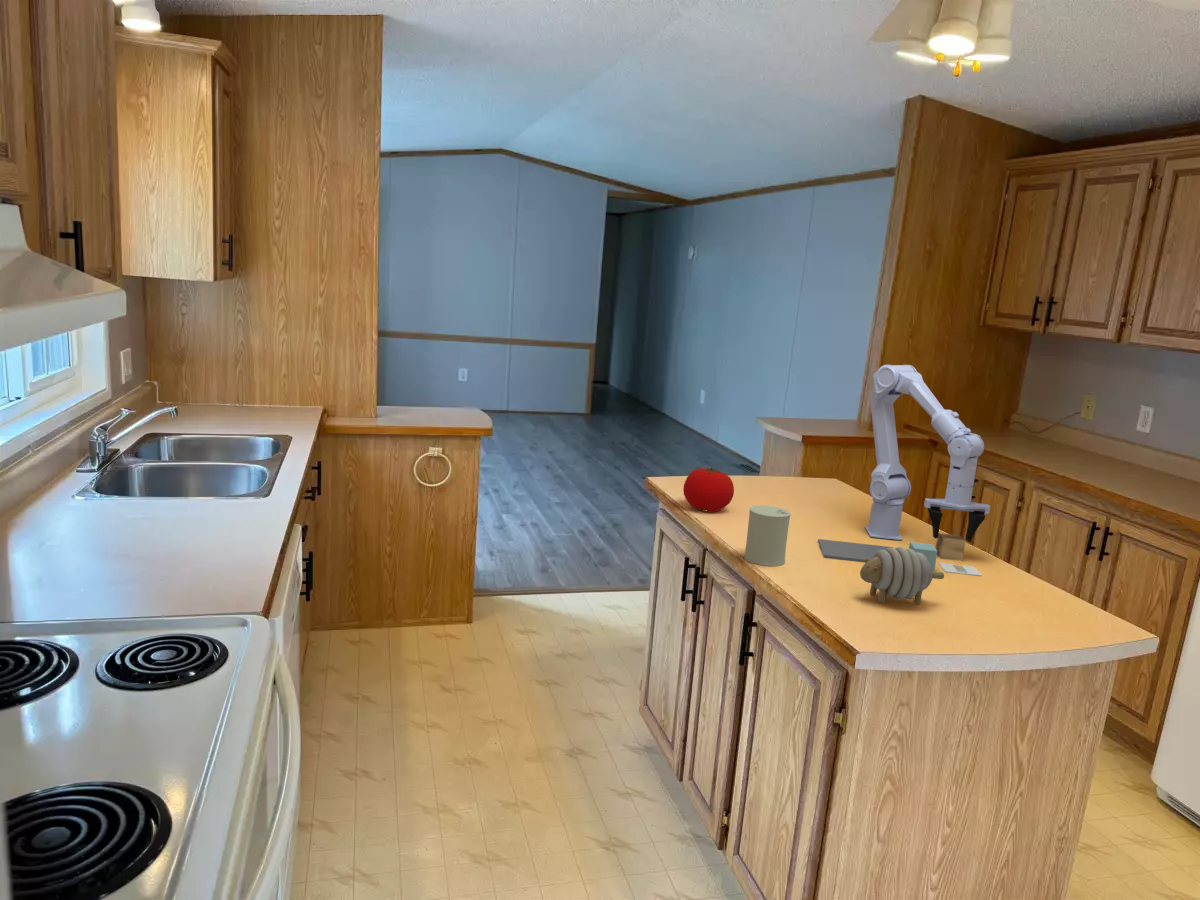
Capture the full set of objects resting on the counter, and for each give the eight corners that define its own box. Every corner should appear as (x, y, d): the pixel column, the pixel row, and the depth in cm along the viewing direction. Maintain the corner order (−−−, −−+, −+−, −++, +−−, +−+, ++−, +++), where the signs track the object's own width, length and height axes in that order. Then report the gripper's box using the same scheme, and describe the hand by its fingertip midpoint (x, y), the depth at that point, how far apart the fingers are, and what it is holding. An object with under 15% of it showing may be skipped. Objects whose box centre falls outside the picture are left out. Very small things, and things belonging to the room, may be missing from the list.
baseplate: (817, 541, 206) (818, 538, 206) (892, 549, 204) (893, 547, 204) (823, 557, 194) (824, 555, 194) (903, 566, 191) (904, 564, 191)
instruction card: (938, 563, 196) (938, 562, 196) (974, 567, 195) (974, 566, 195) (945, 571, 190) (945, 570, 190) (981, 576, 189) (981, 575, 189)
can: (785, 568, 184) (791, 516, 182) (743, 563, 186) (749, 511, 183) (784, 556, 193) (790, 506, 190) (744, 550, 195) (750, 501, 192)
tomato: (673, 504, 232) (677, 463, 229) (714, 501, 238) (719, 462, 235) (697, 517, 220) (701, 474, 218) (740, 514, 226) (745, 472, 224)
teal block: (906, 562, 195) (910, 542, 194) (929, 564, 194) (932, 544, 194) (911, 569, 190) (914, 548, 189) (934, 571, 190) (937, 551, 189)
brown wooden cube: (935, 552, 205) (938, 533, 204) (956, 554, 204) (959, 535, 203) (940, 558, 200) (943, 538, 199) (962, 561, 199) (965, 541, 198)
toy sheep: (847, 589, 174) (854, 538, 172) (924, 591, 176) (932, 541, 174) (868, 608, 164) (876, 555, 161) (949, 611, 165) (958, 558, 163)
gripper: (932, 485, 195) (924, 540, 198) (997, 491, 193) (988, 547, 196) (925, 478, 202) (917, 532, 205) (988, 484, 200) (979, 538, 203)
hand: (951, 539), depth 201 cm, fingers open, 7 cm apart
